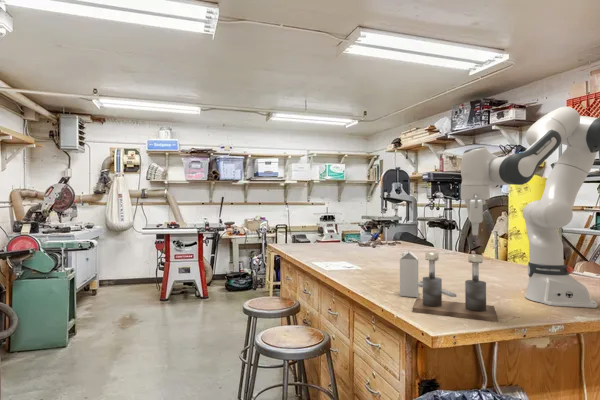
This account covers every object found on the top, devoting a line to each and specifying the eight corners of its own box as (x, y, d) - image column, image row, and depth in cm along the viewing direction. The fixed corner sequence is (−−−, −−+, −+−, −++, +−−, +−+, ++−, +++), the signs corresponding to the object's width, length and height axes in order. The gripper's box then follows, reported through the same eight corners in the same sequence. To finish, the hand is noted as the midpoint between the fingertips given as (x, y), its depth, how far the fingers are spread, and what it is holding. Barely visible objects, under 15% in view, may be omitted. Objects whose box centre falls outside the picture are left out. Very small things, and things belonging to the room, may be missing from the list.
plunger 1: (438, 276, 130) (438, 252, 130) (438, 279, 126) (438, 254, 126) (426, 275, 132) (425, 252, 132) (425, 278, 128) (424, 253, 128)
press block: (493, 310, 127) (493, 279, 127) (497, 321, 114) (497, 287, 114) (416, 302, 138) (416, 273, 138) (412, 311, 125) (412, 280, 125)
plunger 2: (482, 280, 124) (482, 254, 124) (483, 282, 120) (482, 256, 120) (468, 279, 126) (468, 254, 126) (468, 281, 122) (468, 255, 122)
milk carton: (418, 293, 150) (418, 248, 151) (418, 297, 144) (418, 250, 144) (400, 292, 153) (400, 247, 153) (399, 296, 146) (399, 249, 146)
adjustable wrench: (458, 298, 145) (458, 293, 145) (443, 299, 144) (443, 294, 144) (425, 284, 170) (425, 280, 170) (412, 284, 169) (412, 281, 169)
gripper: (487, 193, 113) (487, 237, 113) (483, 195, 131) (483, 233, 131) (465, 193, 115) (465, 237, 115) (464, 195, 134) (464, 232, 134)
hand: (475, 234), depth 123 cm, fingers closed
